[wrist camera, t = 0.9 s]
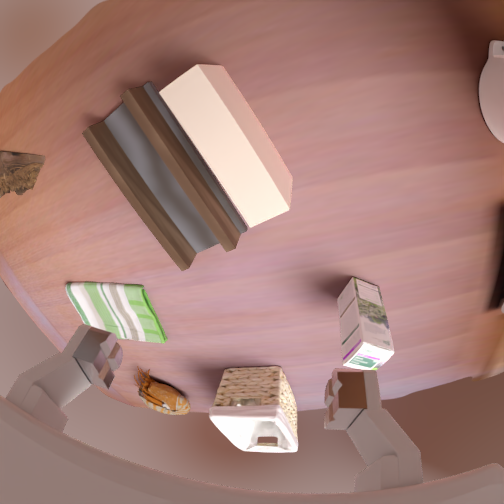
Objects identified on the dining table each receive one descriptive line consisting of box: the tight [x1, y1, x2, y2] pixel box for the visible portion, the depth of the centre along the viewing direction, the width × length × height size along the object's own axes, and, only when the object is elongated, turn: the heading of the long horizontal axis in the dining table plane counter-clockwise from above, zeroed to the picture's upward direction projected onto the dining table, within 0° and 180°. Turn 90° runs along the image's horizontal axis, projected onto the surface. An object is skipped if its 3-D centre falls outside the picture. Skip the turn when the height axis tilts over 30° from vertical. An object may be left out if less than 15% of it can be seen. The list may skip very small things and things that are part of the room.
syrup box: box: [337, 277, 395, 371], centre depth 43 cm, size 6×6×14 cm
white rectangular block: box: [159, 64, 293, 228], centre depth 33 cm, size 5×18×10 cm, turn 31°
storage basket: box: [209, 366, 298, 452], centre depth 65 cm, size 24×16×15 cm
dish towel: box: [65, 282, 167, 343], centre depth 62 cm, size 17×23×4 cm
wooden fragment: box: [0, 151, 45, 198], centre depth 45 cm, size 26×11×1 cm, turn 93°
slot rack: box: [82, 82, 247, 271], centre depth 40 cm, size 12×26×5 cm, turn 31°
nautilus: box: [134, 368, 190, 415], centre depth 76 cm, size 8×22×15 cm
